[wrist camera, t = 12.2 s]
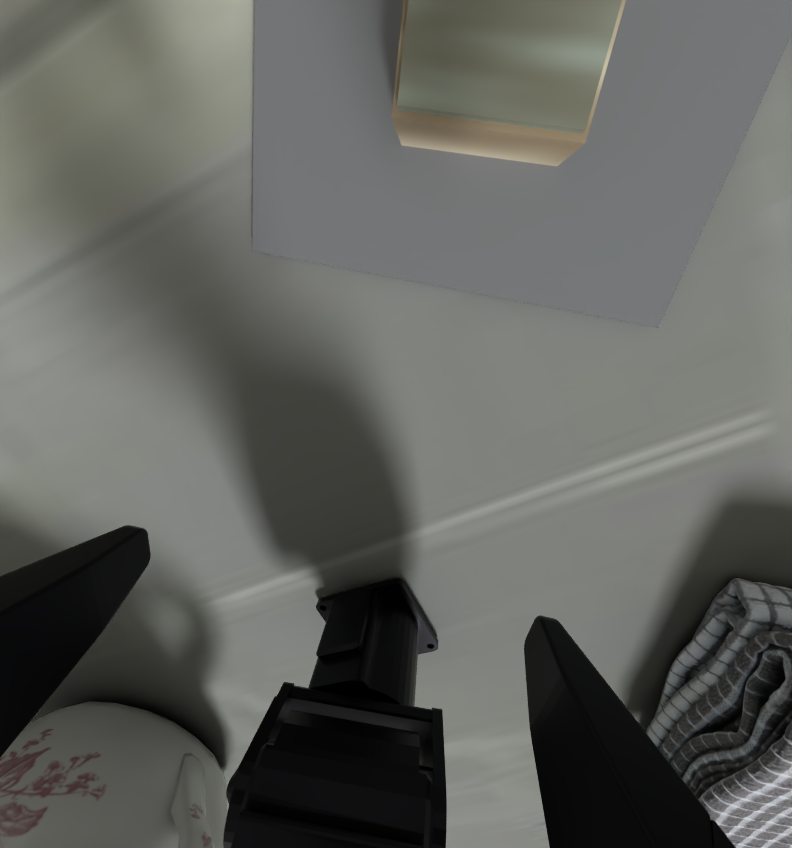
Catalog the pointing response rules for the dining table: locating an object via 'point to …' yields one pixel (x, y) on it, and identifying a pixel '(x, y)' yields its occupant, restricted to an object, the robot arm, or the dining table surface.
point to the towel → (735, 714)
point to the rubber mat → (499, 178)
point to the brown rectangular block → (502, 75)
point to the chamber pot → (110, 783)
